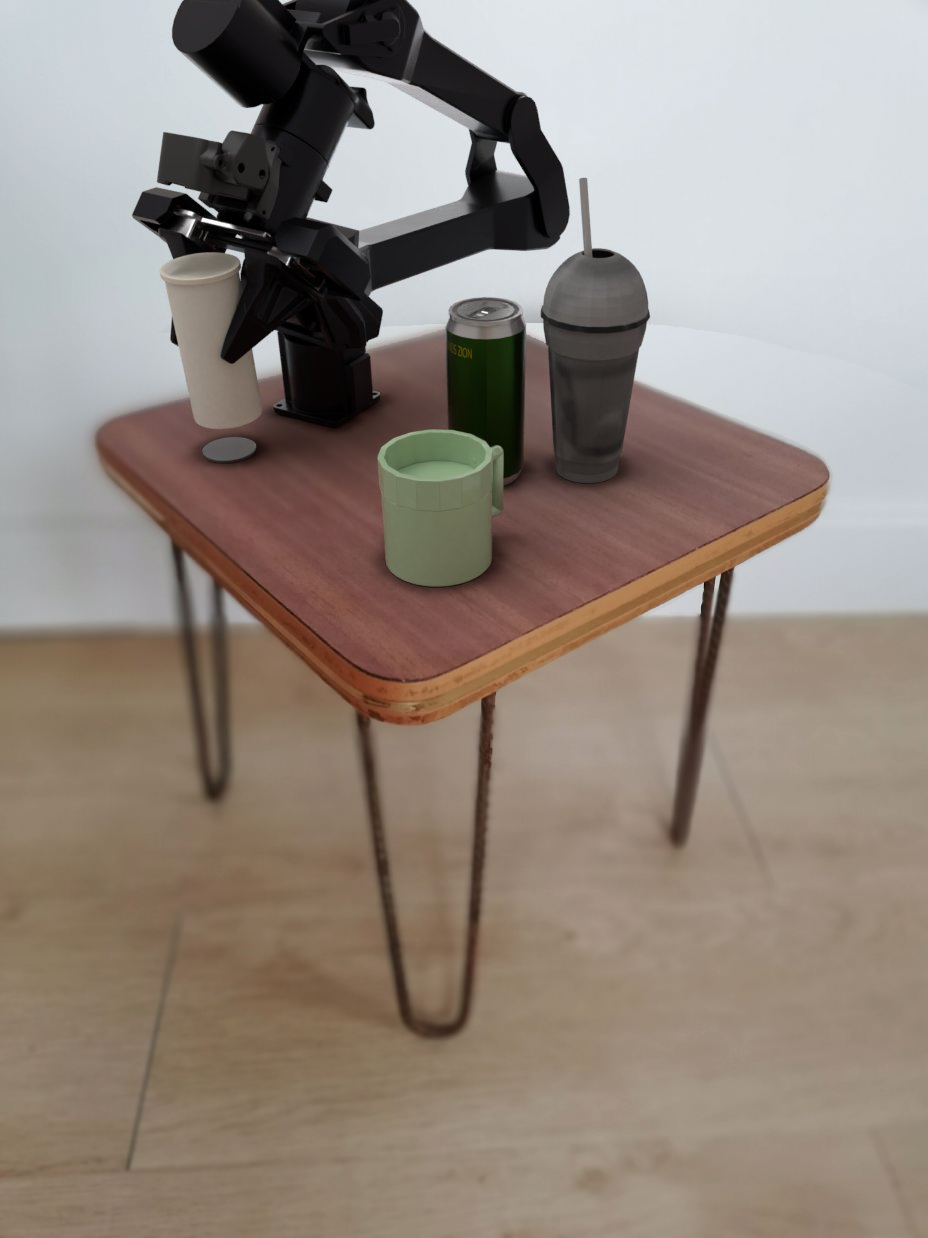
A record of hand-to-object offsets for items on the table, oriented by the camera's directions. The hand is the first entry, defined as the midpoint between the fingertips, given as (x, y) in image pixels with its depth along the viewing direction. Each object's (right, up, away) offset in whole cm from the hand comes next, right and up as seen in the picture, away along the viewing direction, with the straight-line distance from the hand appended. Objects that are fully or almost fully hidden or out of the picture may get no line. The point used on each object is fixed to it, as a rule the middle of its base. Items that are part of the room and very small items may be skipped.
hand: (200, 352), depth 76 cm
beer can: (+20, -8, +3) cm, 22 cm away
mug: (+17, -15, -7) cm, 23 cm away
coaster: (+1, -6, +6) cm, 9 cm away
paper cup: (+1, -4, +4) cm, 5 cm away
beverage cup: (+27, -8, +3) cm, 29 cm away
